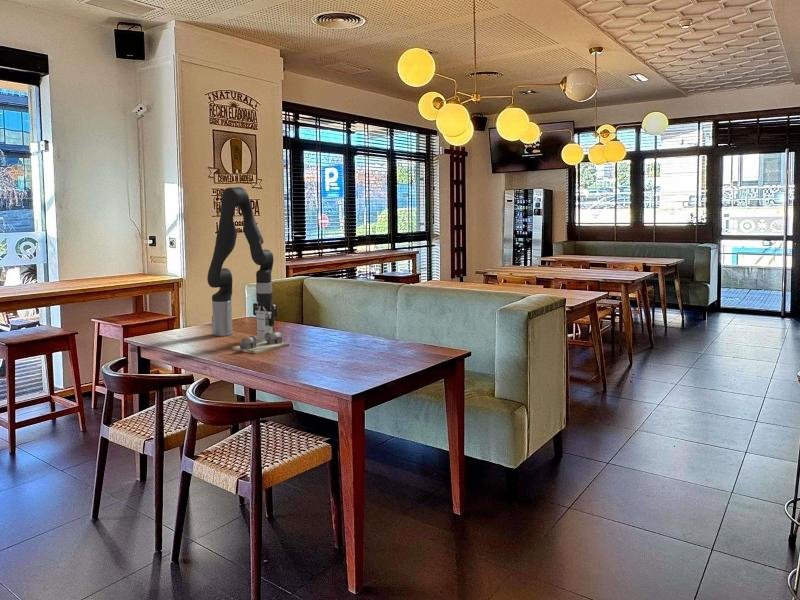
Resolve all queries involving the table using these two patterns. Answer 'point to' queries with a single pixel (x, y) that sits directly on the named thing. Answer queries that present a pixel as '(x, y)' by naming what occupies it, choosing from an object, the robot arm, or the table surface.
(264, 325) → the syrup box
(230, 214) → the robot arm
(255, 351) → the shaft bed
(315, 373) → the table surface
